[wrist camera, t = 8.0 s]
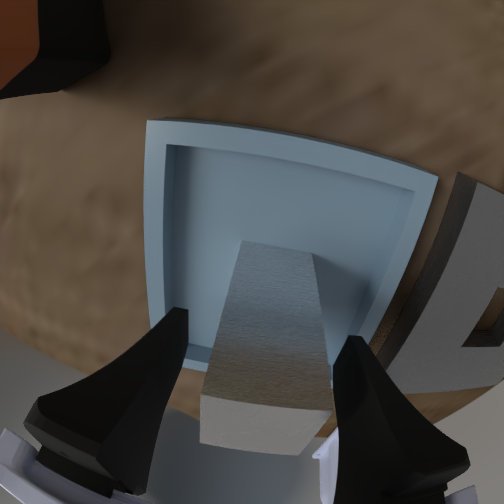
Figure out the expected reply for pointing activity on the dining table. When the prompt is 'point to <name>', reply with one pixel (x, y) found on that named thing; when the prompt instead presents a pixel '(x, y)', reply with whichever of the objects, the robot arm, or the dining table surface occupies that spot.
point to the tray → (275, 221)
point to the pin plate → (453, 301)
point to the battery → (49, 44)
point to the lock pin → (268, 357)
